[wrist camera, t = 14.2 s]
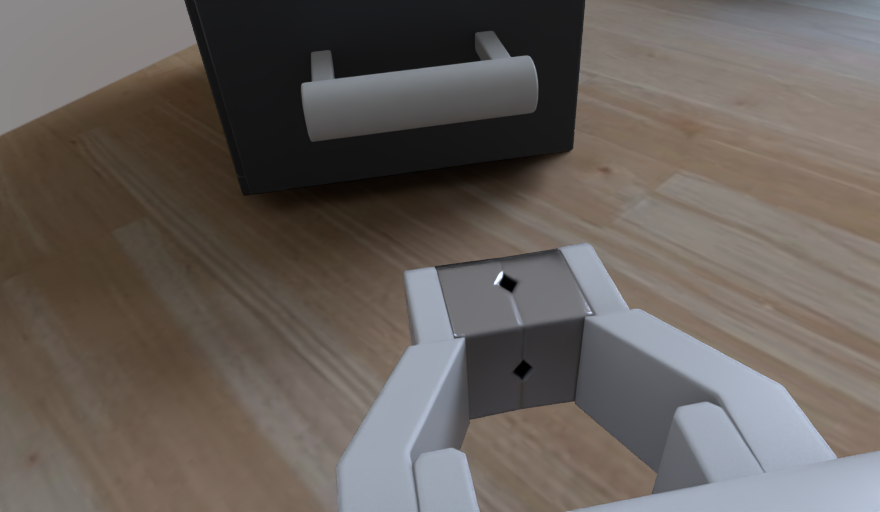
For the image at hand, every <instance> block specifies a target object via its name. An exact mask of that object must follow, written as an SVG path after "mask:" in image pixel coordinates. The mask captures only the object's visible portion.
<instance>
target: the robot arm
mask: <svg viewBox="0 0 880 512" xmlns="http://www.w3.org/2000/svg"><path fill="white" fill-rule="evenodd" d="M403 280H404V289H405V297H406V305H407V313H408V321H409V329H410V336H411V343H412V346H409V347H407V348H406V350H405V351H404V353H403V355H402V356H401V358H400V360H399V361H398V363H397V365H396V366H395V368H394V370H393V371H392V373H391V375H390V376H389V378H388V380H387V381H386V383H385V385H384V386H383V388H382V390H381V392H380V393H379V395H378V397H377V398H376V400H375V402H374V403H373V405H372V407H371V408H370V410H369V412H368V413H367V415H366V417H365V418H364V420H363V422H362V423H361V425H360V427H359V428H358V430H357V432H356V433H355V435H354V437H353V439H352V440H351V442H350V444H349V445H348V447H347V449H346V450H345V452H344V454H343V455H342V457H341V459H340V460H339V462H338V464H337V465H336V470H337V495H338V512H480V511H479V507H478V503H477V499H476V495H475V491H474V487H473V483H472V479H471V475H470V470H469V466H468V462H467V458H466V454H464V453H462V452H460V448H461V445H462V443H463V440H464V437H465V435H466V432H467V429H468V426H469V424H470V420H471V419H476V418H481V417H485V416H490V415H495V414H500V413H505V412H510V411H515V410H519V409H526V408H532V407H539V406H546V405H552V404H559V403H566V402H572V401H575V404H576V405H577V406H578V407H579V408H581V409H582V410H583V411H584V412H585V413H586V414H588V415H589V416H590V417H591V418H592V419H593V420H595V421H596V422H597V423H598V424H599V425H601V426H602V427H603V428H604V429H605V430H606V431H608V432H609V433H610V434H611V435H612V436H614V437H615V438H616V439H617V440H618V441H619V442H621V443H622V444H623V445H624V446H625V447H627V448H628V449H629V450H630V451H631V452H632V453H634V454H635V455H636V456H637V457H638V458H640V459H641V460H642V461H643V462H644V463H645V464H647V465H648V466H649V467H650V468H651V469H652V470H654V471H655V472H656V473H657V477H656V481H655V484H654V488H653V492H652V495H648V496H643V497H638V498H633V499H628V500H622V501H617V502H612V503H607V504H602V505H597V506H592V507H587V508H581V509H576V510H571V511H566V512H880V450H879V451H874V452H869V453H864V454H859V455H854V456H848V457H843V458H837V457H836V455H835V454H834V453H833V451H832V450H831V449H830V447H829V446H828V445H827V443H826V442H825V441H824V439H823V438H822V437H821V435H820V434H819V433H818V431H817V430H816V429H815V427H814V426H813V425H812V423H811V422H810V421H809V419H808V418H807V417H806V416H805V414H804V413H803V412H802V410H801V409H800V408H799V406H798V405H797V404H796V402H795V401H794V400H793V398H792V397H791V396H790V394H789V393H788V392H787V390H786V389H785V388H784V386H782V385H780V384H779V383H777V382H775V381H773V380H771V379H769V378H767V377H766V376H764V375H762V374H760V373H758V372H756V371H754V370H753V369H751V368H749V367H747V366H745V365H743V364H741V363H740V362H738V361H736V360H734V359H732V358H730V357H728V356H727V355H725V354H723V353H721V352H719V351H717V350H715V349H714V348H712V347H710V346H708V345H706V344H704V343H702V342H701V341H699V340H697V339H695V338H693V337H691V336H689V335H687V334H686V333H684V332H682V331H680V330H678V329H676V328H674V327H673V326H671V325H669V324H667V323H665V322H663V321H661V320H660V319H658V318H656V317H654V316H652V315H650V314H648V313H647V312H645V311H643V310H641V309H639V308H638V309H632V310H630V309H629V308H628V306H627V304H626V302H625V301H624V299H623V297H622V296H621V294H620V292H619V291H618V289H617V287H616V286H615V284H614V282H613V281H612V279H611V277H610V276H609V274H608V272H607V271H606V269H605V267H604V266H603V264H602V262H601V261H600V259H599V257H598V256H597V254H596V252H595V250H594V249H593V247H592V246H591V245H590V244H588V243H582V244H576V245H570V246H565V247H559V248H556V249H551V250H545V251H539V252H533V253H526V254H520V255H514V256H508V257H501V258H494V259H486V260H479V261H471V262H463V263H456V264H448V265H441V266H435V268H434V267H429V268H422V269H414V270H407V271H403Z"/></svg>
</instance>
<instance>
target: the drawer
mask: <svg viewBox="0 0 880 512" xmlns="http://www.w3.org/2000/svg"><path fill="white" fill-rule="evenodd" d="M194 2H195V5H196V8H197V12H198V15H199V19H200V22H201V26H202V29H203V32H204V36H205V39H206V43H207V46H208V50H209V53H210V57H211V60H212V63H213V67H214V70H215V74H216V77H217V81H218V84H219V87H220V91H221V94H222V98H223V101H224V105H225V108H226V111H227V115H228V118H229V122H230V125H231V129H232V132H233V135H234V139H235V142H236V146H237V149H238V153H239V156H240V159H241V163H242V166H243V170H244V173H245V177H246V180H247V183H248V187H249V190H250V193H251V194H258V193H265V192H272V191H279V190H287V189H294V188H301V187H308V186H316V185H323V184H330V183H337V182H345V181H352V180H359V179H366V178H374V177H381V176H388V175H395V174H403V173H410V172H417V171H424V170H431V169H439V168H446V167H453V166H460V165H468V164H475V163H482V162H489V161H497V160H504V159H511V158H518V157H526V156H533V155H540V154H547V153H555V152H562V151H569V150H572V149H573V139H574V126H575V114H576V102H577V90H578V78H579V66H580V54H581V42H582V29H583V17H584V5H585V0H194Z"/></svg>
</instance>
